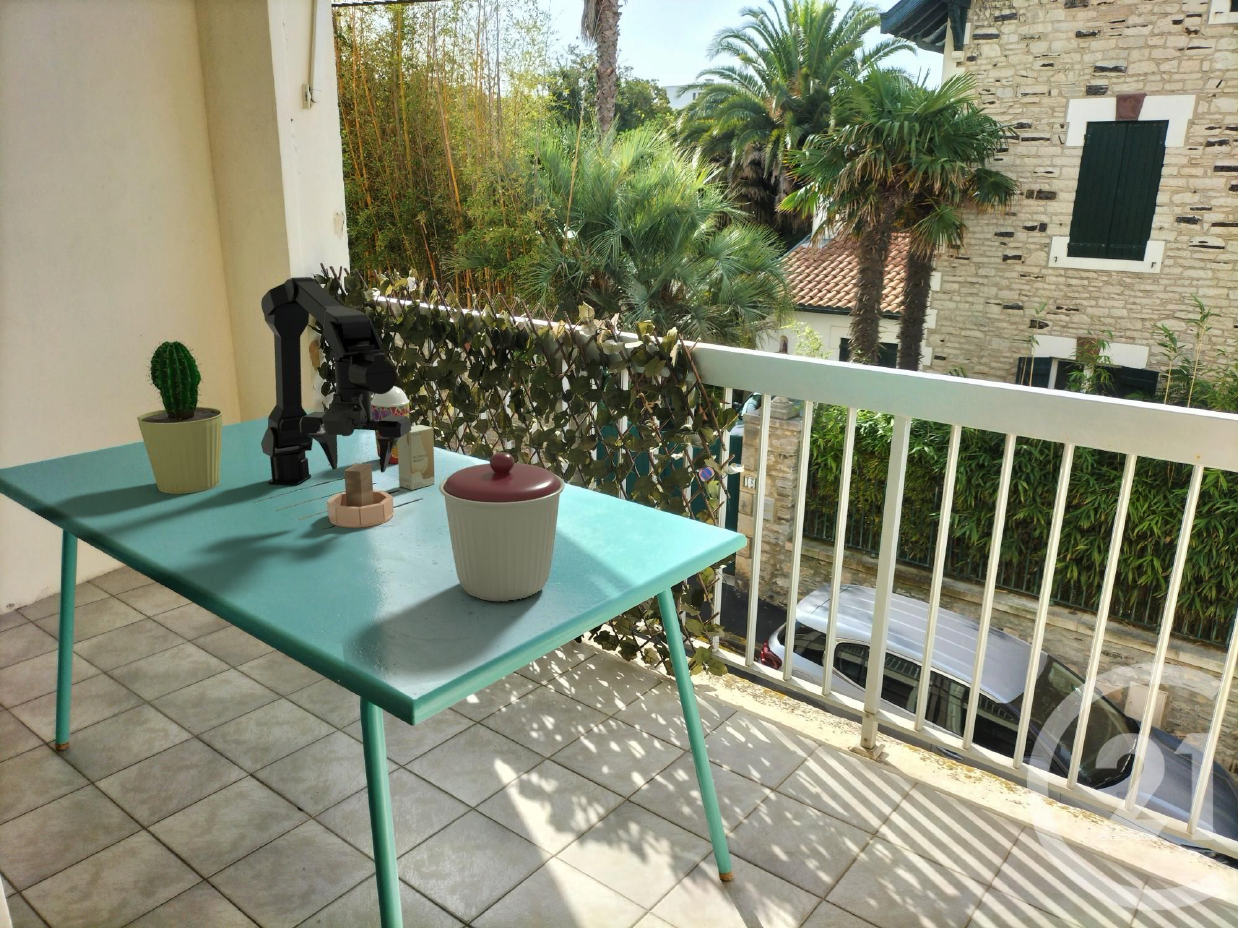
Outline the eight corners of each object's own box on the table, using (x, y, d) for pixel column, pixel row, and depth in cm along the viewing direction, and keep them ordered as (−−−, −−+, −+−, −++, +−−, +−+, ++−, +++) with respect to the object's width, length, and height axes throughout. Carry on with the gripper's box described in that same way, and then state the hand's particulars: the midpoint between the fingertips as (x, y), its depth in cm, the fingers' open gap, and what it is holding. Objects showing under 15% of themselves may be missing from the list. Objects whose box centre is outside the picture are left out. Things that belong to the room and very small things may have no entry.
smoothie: (367, 463, 193) (361, 375, 188) (387, 454, 201) (382, 369, 195) (400, 466, 191) (395, 378, 185) (419, 457, 199) (415, 372, 193)
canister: (434, 572, 135) (428, 442, 129) (545, 559, 141) (545, 434, 135) (455, 621, 118) (450, 475, 113) (579, 604, 125) (581, 464, 119)
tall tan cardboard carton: (347, 518, 156) (344, 470, 154) (358, 509, 161) (355, 463, 158) (363, 519, 156) (360, 471, 153) (374, 510, 161) (371, 464, 158)
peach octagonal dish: (318, 525, 154) (317, 506, 153) (345, 505, 165) (344, 488, 164) (378, 529, 152) (377, 510, 152) (401, 509, 163) (400, 491, 162)
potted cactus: (245, 476, 182) (230, 334, 174) (204, 498, 167) (186, 344, 159) (176, 472, 183) (158, 331, 175) (129, 494, 168) (107, 341, 160)
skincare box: (412, 490, 174) (409, 432, 171) (398, 486, 177) (395, 429, 174) (436, 483, 179) (434, 426, 176) (422, 479, 182) (420, 423, 179)
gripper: (280, 392, 145) (288, 480, 149) (385, 396, 143) (390, 486, 147) (311, 380, 156) (318, 463, 160) (410, 384, 153) (414, 468, 158)
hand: (358, 470), depth 156 cm, fingers open, 9 cm apart
